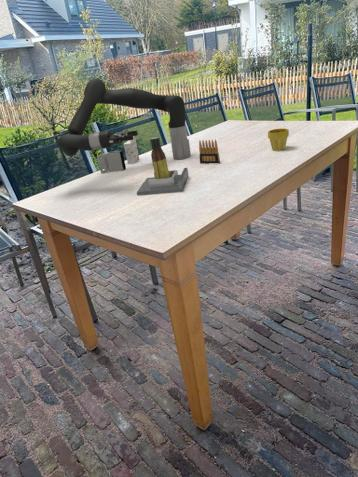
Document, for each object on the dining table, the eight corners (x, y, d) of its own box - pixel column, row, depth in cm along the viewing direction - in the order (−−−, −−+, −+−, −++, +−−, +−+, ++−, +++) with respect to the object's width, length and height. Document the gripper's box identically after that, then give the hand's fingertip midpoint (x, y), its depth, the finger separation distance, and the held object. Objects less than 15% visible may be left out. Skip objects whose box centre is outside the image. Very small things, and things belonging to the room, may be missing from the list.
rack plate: (188, 176, 172) (187, 166, 170) (182, 191, 154) (181, 179, 152) (147, 180, 176) (145, 170, 173) (137, 195, 158) (135, 184, 156)
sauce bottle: (172, 179, 166) (165, 135, 157) (167, 184, 161) (160, 138, 152) (159, 180, 168) (151, 136, 159) (153, 184, 163) (145, 139, 154)
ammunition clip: (220, 162, 187) (217, 138, 182) (218, 163, 185) (216, 139, 180) (201, 162, 192) (198, 139, 187) (200, 163, 191) (197, 140, 186)
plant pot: (281, 152, 187) (280, 133, 183) (264, 151, 195) (263, 132, 191) (292, 147, 193) (292, 128, 189) (276, 146, 201) (275, 128, 196)
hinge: (100, 174, 201) (96, 155, 197) (102, 171, 206) (98, 153, 202) (125, 170, 201) (121, 151, 196) (126, 167, 206) (122, 149, 201)
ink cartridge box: (131, 160, 220) (126, 135, 214) (139, 159, 219) (134, 134, 213) (127, 164, 213) (121, 138, 207) (135, 163, 212) (130, 137, 205)
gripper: (93, 135, 159) (129, 129, 156) (103, 128, 171) (136, 123, 168) (98, 152, 162) (133, 147, 159) (108, 144, 175) (140, 139, 172)
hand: (135, 134), depth 164 cm, fingers open, 8 cm apart
